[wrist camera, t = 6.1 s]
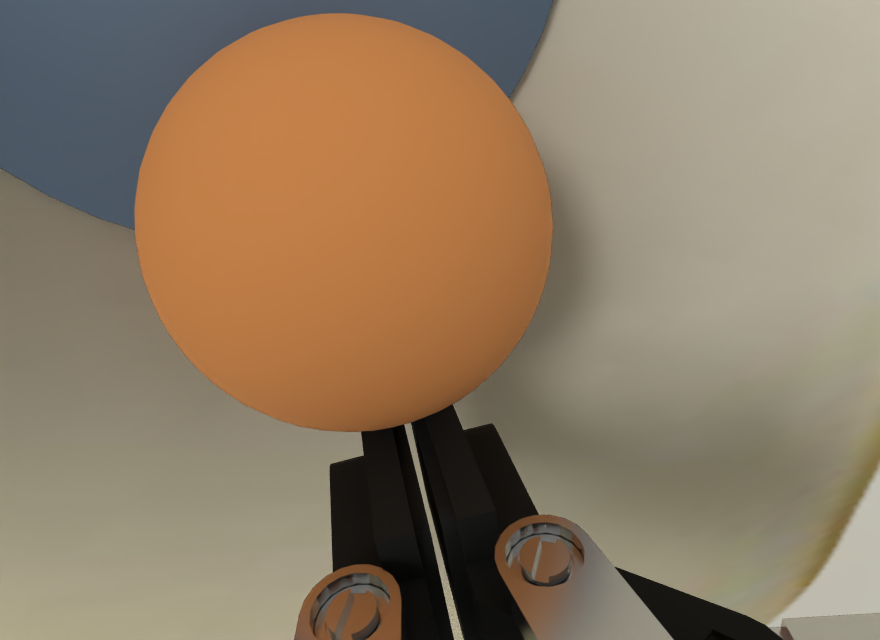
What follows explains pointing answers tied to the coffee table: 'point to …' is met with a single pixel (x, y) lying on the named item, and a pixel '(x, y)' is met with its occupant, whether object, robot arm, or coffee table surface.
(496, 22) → the disc
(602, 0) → the coffee table surface
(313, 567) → the coffee table surface
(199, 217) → the ball
